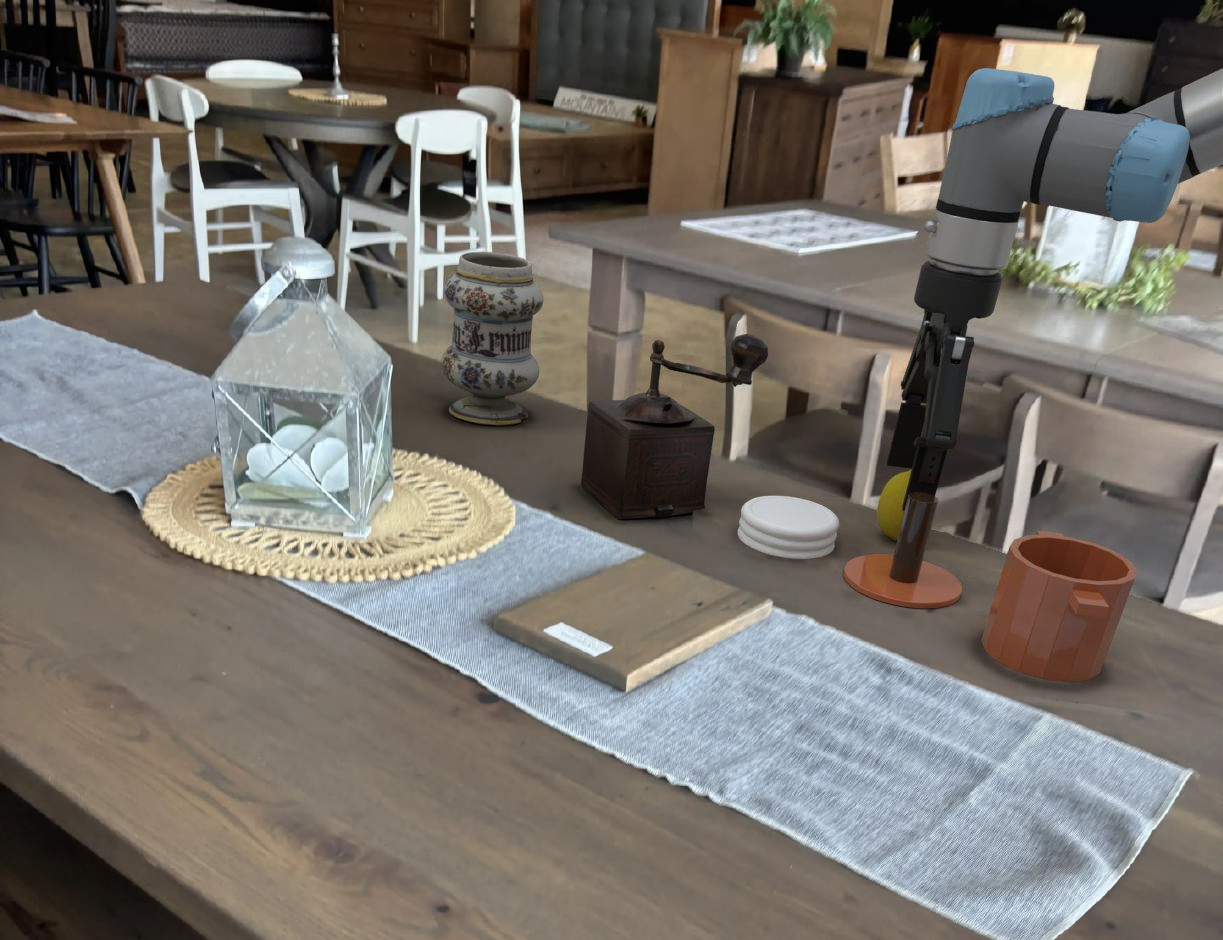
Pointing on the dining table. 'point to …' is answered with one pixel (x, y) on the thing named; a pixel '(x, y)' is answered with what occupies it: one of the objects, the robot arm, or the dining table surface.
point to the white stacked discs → (788, 527)
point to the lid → (906, 565)
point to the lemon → (892, 505)
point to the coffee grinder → (657, 442)
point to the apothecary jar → (491, 336)
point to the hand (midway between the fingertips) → (907, 488)
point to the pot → (1057, 606)
